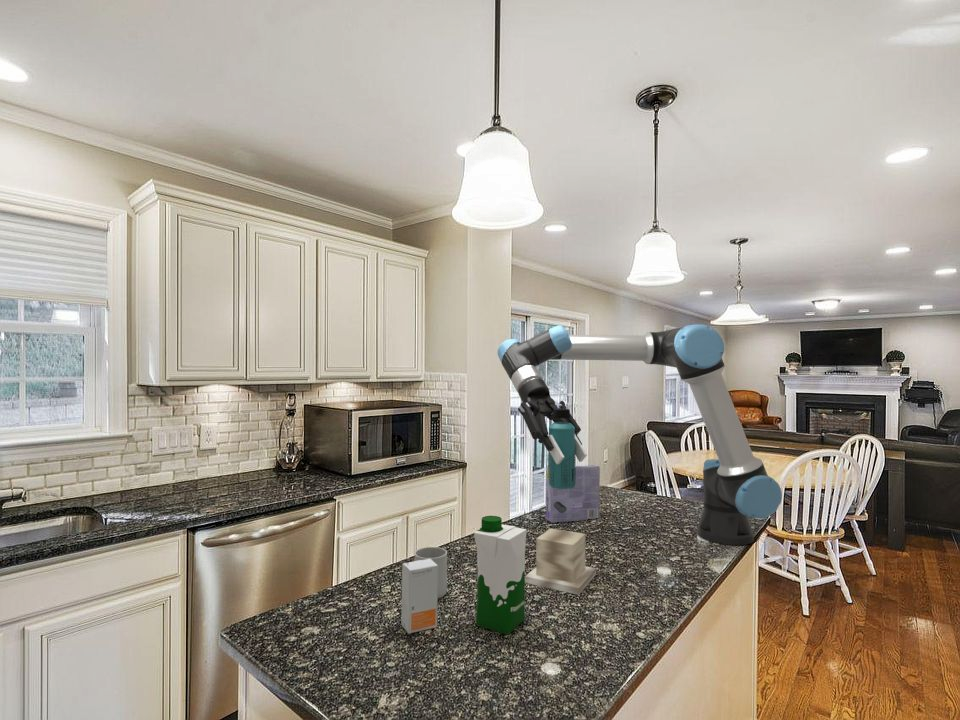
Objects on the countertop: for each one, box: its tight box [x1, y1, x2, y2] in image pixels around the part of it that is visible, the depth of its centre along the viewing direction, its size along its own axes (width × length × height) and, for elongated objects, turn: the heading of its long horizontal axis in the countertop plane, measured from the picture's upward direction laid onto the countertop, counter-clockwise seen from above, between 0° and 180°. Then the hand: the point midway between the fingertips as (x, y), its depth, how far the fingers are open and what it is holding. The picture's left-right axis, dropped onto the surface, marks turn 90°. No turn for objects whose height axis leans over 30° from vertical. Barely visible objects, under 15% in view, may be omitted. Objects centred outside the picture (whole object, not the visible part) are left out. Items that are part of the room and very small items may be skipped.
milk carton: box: [473, 515, 527, 636], centre depth 101 cm, size 9×9×20 cm
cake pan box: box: [545, 464, 601, 524], centre depth 170 cm, size 19×5×18 cm, turn 108°
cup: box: [414, 546, 448, 600], centre depth 113 cm, size 7×10×9 cm
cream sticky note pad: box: [525, 527, 597, 596], centre depth 122 cm, size 13×13×10 cm
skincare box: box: [400, 559, 438, 635], centre depth 99 cm, size 6×4×12 cm
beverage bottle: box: [547, 408, 577, 489], centre depth 123 cm, size 6×7×20 cm
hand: (572, 459), depth 119 cm, fingers closed on beverage bottle, 6 cm apart
